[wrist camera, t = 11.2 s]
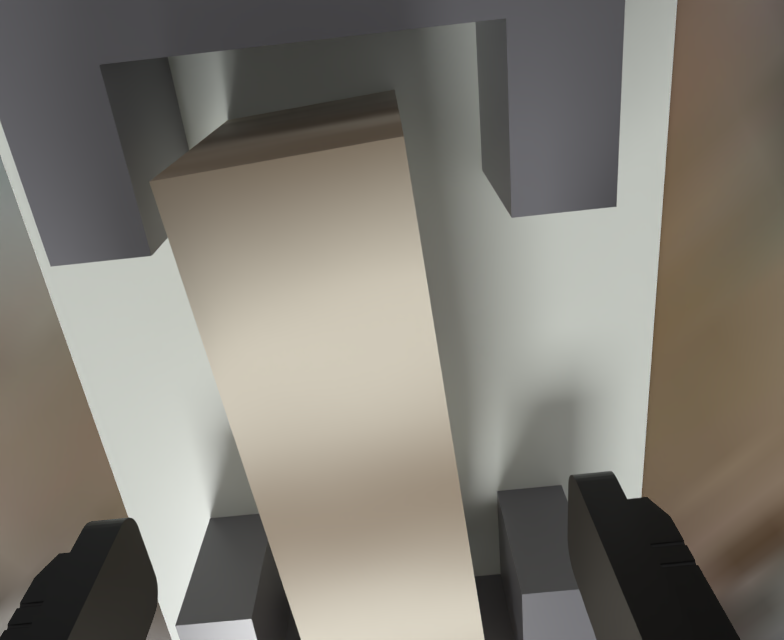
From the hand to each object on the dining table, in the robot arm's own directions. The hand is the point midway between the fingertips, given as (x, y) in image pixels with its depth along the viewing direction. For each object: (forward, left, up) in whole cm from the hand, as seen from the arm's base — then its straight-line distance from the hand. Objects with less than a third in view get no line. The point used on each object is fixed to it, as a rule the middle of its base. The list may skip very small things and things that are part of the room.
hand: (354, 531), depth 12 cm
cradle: (0, 0, -8) cm, 8 cm away
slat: (0, 0, -7) cm, 7 cm away
